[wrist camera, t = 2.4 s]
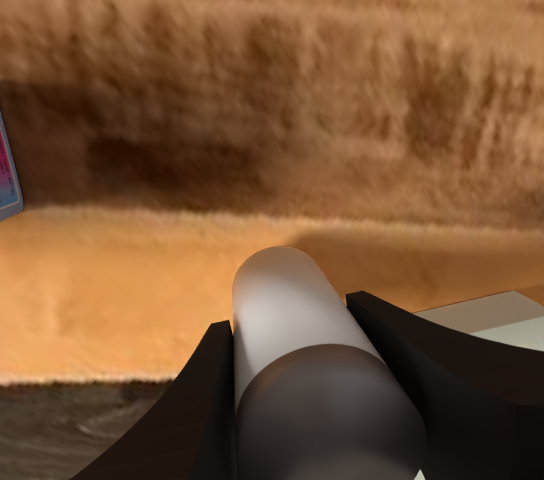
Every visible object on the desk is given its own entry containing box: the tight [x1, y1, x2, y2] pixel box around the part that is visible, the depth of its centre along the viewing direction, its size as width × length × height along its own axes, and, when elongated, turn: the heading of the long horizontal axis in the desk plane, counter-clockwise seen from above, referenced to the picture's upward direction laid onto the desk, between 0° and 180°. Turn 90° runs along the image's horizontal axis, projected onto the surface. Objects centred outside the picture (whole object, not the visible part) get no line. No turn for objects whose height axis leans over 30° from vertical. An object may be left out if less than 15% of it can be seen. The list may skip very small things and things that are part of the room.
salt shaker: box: [232, 246, 427, 480], centre depth 11 cm, size 4×4×8 cm
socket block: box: [412, 290, 544, 480], centre depth 18 cm, size 15×10×3 cm, turn 100°
